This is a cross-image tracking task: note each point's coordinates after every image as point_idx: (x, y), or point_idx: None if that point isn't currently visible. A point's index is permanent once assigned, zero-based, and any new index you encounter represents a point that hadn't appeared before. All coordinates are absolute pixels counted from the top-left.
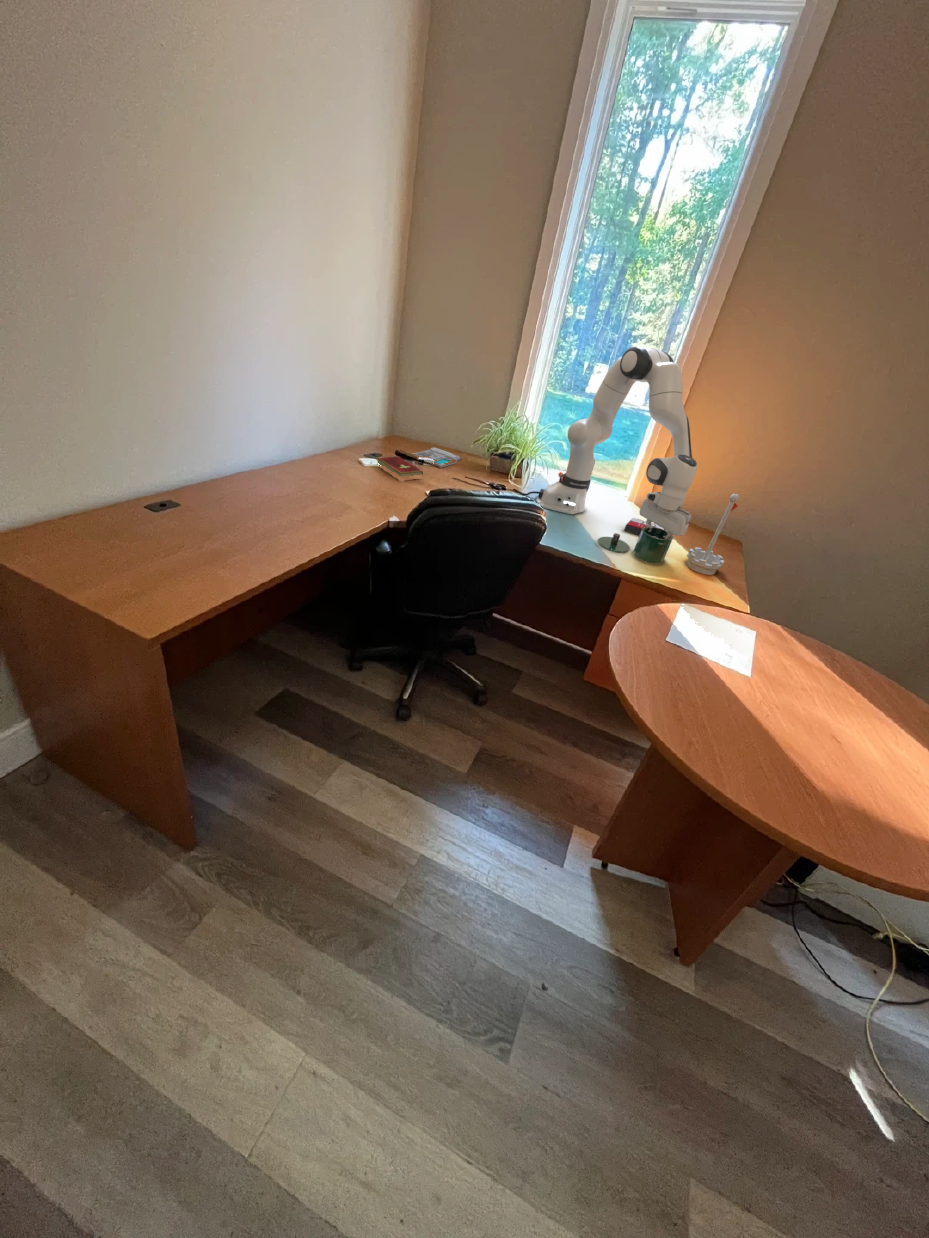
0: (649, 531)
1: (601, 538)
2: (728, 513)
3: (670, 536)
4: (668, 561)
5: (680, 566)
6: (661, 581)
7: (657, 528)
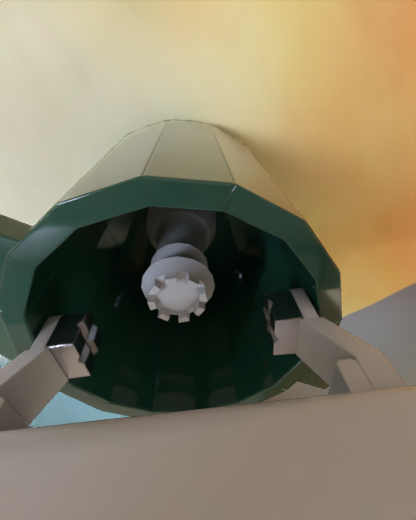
0: (94, 335)
1: (6, 351)
2: None
3: (341, 334)
4: (255, 91)
5: (344, 39)
6: (378, 295)
7: (41, 263)
